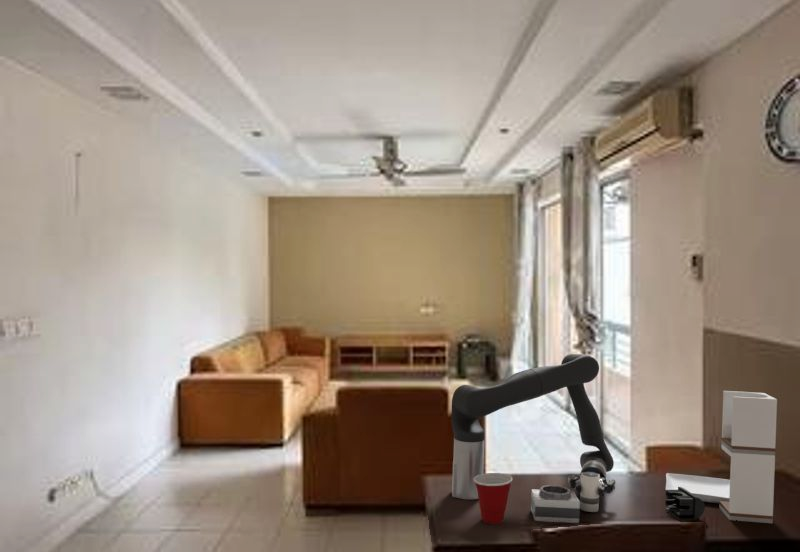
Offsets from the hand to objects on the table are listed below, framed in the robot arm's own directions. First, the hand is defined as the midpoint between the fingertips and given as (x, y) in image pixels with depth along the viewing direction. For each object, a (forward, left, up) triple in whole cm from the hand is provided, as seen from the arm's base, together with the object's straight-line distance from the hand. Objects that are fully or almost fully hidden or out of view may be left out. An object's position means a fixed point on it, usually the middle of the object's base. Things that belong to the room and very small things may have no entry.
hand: (589, 490), depth 206 cm
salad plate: (+40, +25, -7) cm, 47 cm away
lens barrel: (+1, +2, -6) cm, 7 cm away
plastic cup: (-28, -9, -7) cm, 30 cm away
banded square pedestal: (-10, -3, -7) cm, 13 cm away
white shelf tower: (+46, +6, -7) cm, 47 cm away
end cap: (+28, +4, -7) cm, 29 cm away
